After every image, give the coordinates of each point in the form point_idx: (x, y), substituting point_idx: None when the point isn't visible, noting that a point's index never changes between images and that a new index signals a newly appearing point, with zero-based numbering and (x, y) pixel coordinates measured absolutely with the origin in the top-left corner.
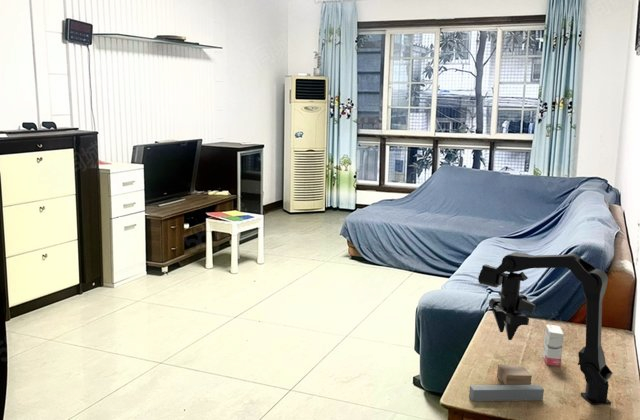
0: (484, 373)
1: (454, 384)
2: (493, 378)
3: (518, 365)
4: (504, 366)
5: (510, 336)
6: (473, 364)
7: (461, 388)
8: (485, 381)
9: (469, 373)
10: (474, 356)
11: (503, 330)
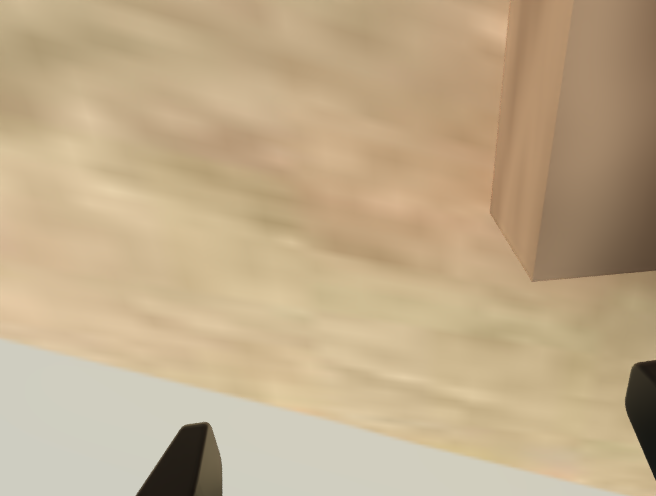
0: (427, 295)
1: (586, 480)
2: None
3: (589, 57)
4: (594, 232)
5: None
6: (253, 343)
7: None
8: (571, 314)
9: (428, 390)
10: (64, 310)
11: (202, 445)
